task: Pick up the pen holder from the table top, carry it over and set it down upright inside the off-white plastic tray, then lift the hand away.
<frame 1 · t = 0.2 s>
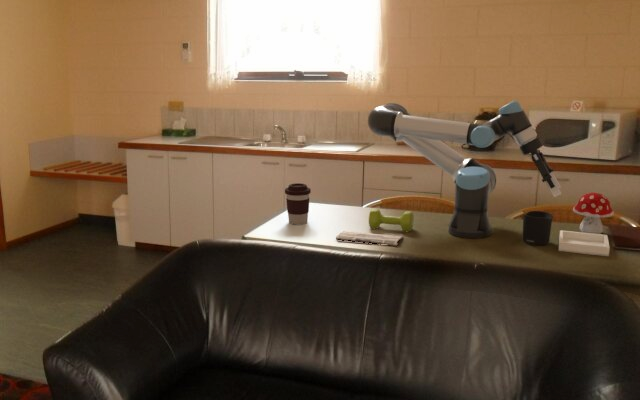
hand: (557, 192, 211), 15 cm above the table, tool tilted 35°, fingers open, 13 cm apart
pen holder: (535, 242, 204), on the table
coffee cup: (298, 223, 229), on the table
tray: (582, 247, 198), on the table
newspaper: (370, 242, 207), on the table
dumbbell: (390, 229, 220), on the table
decorative mushroom: (590, 233, 214), on the table
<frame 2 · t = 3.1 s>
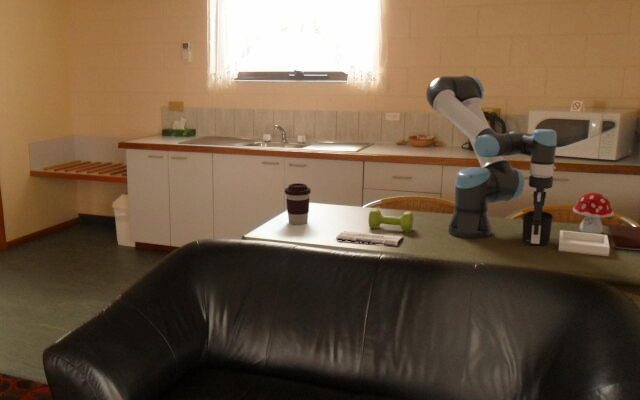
hand: (535, 239, 203), 1 cm above the table, tool pointing down, fingers closed on pen holder, 9 cm apart
pen holder: (535, 242, 204), on the table, touching gripper
everything else where it was.
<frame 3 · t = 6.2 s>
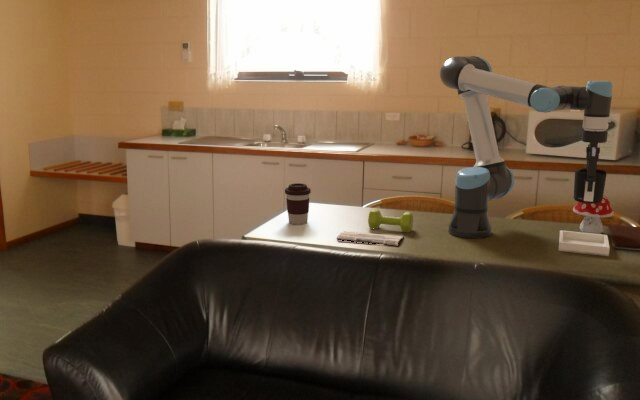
hand: (587, 197, 194), 17 cm above the table, tool pointing down, fingers closed on pen holder, 9 cm apart
pen holder: (587, 201, 194), point 16 cm above the table, touching gripper
everything else where it was.
when the fingers open (4 cm above the table, at t = 9.3 s): pen holder drops 3 cm, resting on tray.
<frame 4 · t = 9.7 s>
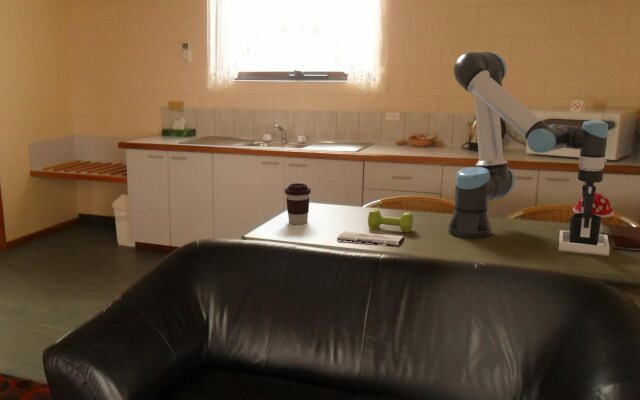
hand: (584, 231, 197), 5 cm above the table, tool pointing down, fingers open, 13 cm apart
pen holder: (582, 245, 198), resting on tray
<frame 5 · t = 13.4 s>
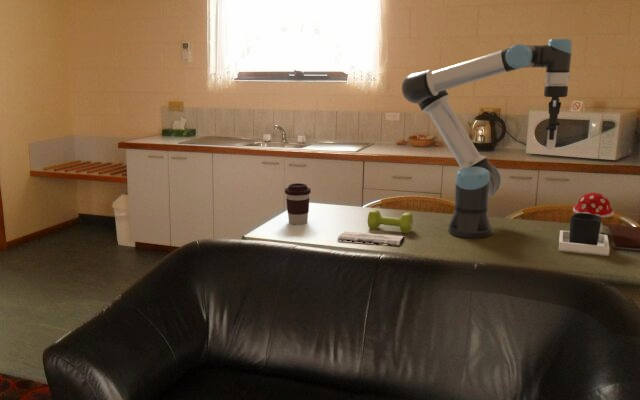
hand: (551, 146, 207), 32 cm above the table, tool pointing down, fingers open, 13 cm apart
at the end: pen holder 0.1 cm off-centre on the tray, point 0.4 cm above the tray's base; pen holder tilted 0°; the gripper is holding nothing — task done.
